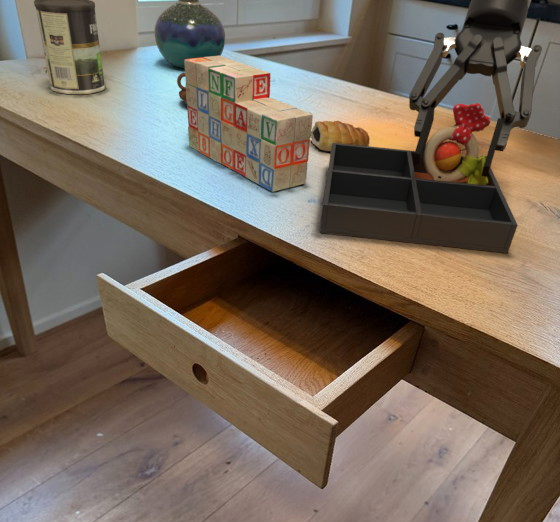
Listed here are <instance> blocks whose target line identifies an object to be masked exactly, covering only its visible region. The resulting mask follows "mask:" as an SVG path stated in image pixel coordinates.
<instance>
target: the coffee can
mask: <svg viewBox="0 0 560 522" xmlns="http://www.w3.org/2000/svg"><path fill="white" fill-rule="evenodd" d="M33 5H34V7H35V11H36V17H37V23H38V27H39V32H40V38H41V43H42V49H43V53H44V57H45V58H44V59H45V64H46V70H47V75H48V79H49V88H50V90H51V91H52V92H55V93H58V94H59V93H60V94H65V95H90V94H96V93H100V92H102V91H104V90H105V89H106V84H105V77H104V69H103V62H102V54H101V53H102V52H101V46H100V39H99V31H98V30H99V29H98V22H97V16H96V3H95V1H93V0H33Z"/></svg>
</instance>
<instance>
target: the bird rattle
mask: <svg viewBox="0 0 560 522" xmlns="http://www.w3.org/2000/svg"><path fill="white" fill-rule="evenodd" d="M452 112H453V119H454V120H453V121H454V125H449V126H445V127H443V128H440V129H439V130H437V131H436V132H435V133H433V134H432V135H431V136H430V138H428V140H427V143H426V146H425V149H424V153H423V162H424V166H425V169H426V171H427V173H428V174H429V175H430V176H431V178H432V180H439V181H448V182H456V181H460V180H463V179H466V178H468V177H469V178H468V180H467V183H468V184H478V185H486V184H488V178H487V177H485V176H481V175H482V171H483V167H484V164H485V161H486V157H487V155H486V154H484V155H481V156H480V149H479V143H478V140H477V138H476V136H475V135H474V134H473V132H483V131H484V130H485V129H486V128H487V127H489V126H490V123H491V121H492V119H491V118H490V117H489V116H488V115H486V114H485V109H484V108H483V106H482V105H481V103H479V102H476V103H471V104H464V103H457V104H455V105H453V107H452ZM458 144H460V145H462V146H464V148H463V149H461V147H460V146H459V145H458ZM465 151H466V153H465V155H463V156H464V157H463V161H462V164H460V165H459V167H458V168H457V169H455V170H453V171H449V170H452V169H453V168H455V167H456V166H457V165H458V164H459V162H460V159H461V156H462V152H465ZM478 157H479V158H478Z"/></svg>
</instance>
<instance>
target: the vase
mask: <svg viewBox="0 0 560 522" xmlns="http://www.w3.org/2000/svg"><path fill="white" fill-rule="evenodd" d="M154 40H155V43H156V47H157V49H158V51H159V54H160V55H161V57H163V58H164V60H165V61H166V62H167V63H169V64H170V65H172V66H174V67H177V68H180V69H185V63H184V60H185V59H192V58H204V57H210V56H222V54H223V52H224V48H225V44H226V31H225V27H224V25H223V23H222V21H221V19H220V18H219V17H218V15H217V14H216V13H214V12H213V11H212V10H211V9H210V8H208V7H207V6H205V5H204V4H202V3H201V2H200V0H178V1H176V2H175V3H173V4H171V5H170V6H169V7H167V8H166V9H165V10H163V11H162V12H161V14H159V16H158V17H157V19H156V21H155V25H154Z"/></svg>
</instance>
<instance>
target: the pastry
mask: <svg viewBox="0 0 560 522" xmlns="http://www.w3.org/2000/svg"><path fill="white" fill-rule="evenodd" d="M310 139H311V143H312V144H313V145H314V146H316V147H317V148H318V149H319V150H321V151H325V152H331V147H332V143H340V144H350V145H360V146H370V140H371V139H370V136H369V133H368V131H366V130H365V129H363V128H362V127H360V126H357V127H355V126H354V125H353V124H350V123H346V122H342V121H340V120H334V121H331V120H323V121H319V120H318V121H315V123H314V126H312V130H311V138H310Z"/></svg>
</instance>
